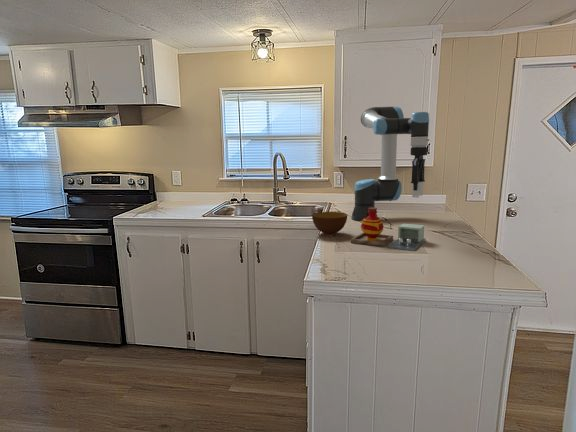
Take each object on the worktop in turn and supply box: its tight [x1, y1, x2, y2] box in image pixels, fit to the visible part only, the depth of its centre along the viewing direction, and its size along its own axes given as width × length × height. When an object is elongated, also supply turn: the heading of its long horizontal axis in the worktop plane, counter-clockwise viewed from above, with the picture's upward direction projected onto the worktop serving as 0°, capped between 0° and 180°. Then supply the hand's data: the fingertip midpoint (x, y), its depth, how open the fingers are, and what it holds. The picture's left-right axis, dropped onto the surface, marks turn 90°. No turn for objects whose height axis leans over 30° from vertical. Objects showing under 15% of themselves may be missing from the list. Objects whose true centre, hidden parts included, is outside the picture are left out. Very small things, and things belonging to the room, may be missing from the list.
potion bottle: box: [360, 207, 384, 241], centre depth 188 cm, size 10×10×15 cm
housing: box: [397, 223, 425, 242], centre depth 186 cm, size 10×7×6 cm
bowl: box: [311, 211, 348, 236], centre depth 204 cm, size 18×18×10 cm
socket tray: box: [350, 232, 394, 248], centre depth 189 cm, size 15×15×2 cm
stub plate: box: [388, 237, 427, 252], centre depth 182 cm, size 11×20×4 cm, turn 148°
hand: (417, 196), depth 190 cm, fingers open, 6 cm apart
